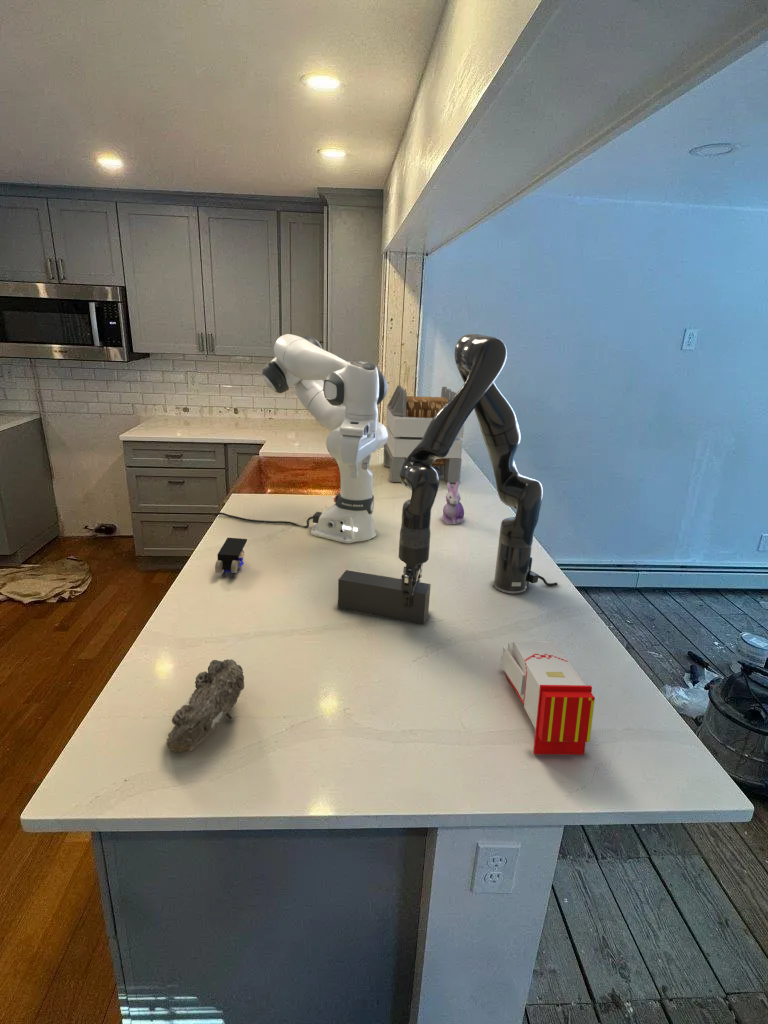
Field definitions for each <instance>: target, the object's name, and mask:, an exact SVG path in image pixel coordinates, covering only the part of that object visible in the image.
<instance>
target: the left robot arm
mask: <svg viewBox="0 0 768 1024" xmlns="http://www.w3.org/2000/svg"><path fill="white" fill-rule="evenodd" d="M273 353H274V357H273V358H272V359H271V360H270V361H268V362H267V363H266V364H265V365H264V367H263V368H262V372H261V374H262V378H263V380H264V383H265V385H266V386H267V387H268V388H269V389H271V390H273V391H274V392H275V393H278V394H283V393H285V392H287V391H290V388H292V387H293V391H294V393H295V395H296V397H297V399H298V400H299V402H300V403H301V404H302V406H303V407H304V408H305V409H306V410H307V412H308V413H310V415H311V416H312V417H313V418H314V419H315V420H316V421H317V422H318V423H319V425H321V427H323V428H324V429H326V430H328V431H330V432H329V433H328V435H327V437H326V440H325V446H326V450H327V453H328V454H329V455H330V456H331V457H332V458H333V459H334V460H335V462H336V464H337V466H338V470H339V476H340V480H339V481H340V484H339V485H340V488H339V489H340V490H339V491H338V492H337V494H336V495H335V496H334V497H333V502H334V504H333V505H331V506H329V507H328V508H326V509H325V510H323V512H322V511H316V512H315V513H314V514H313V515H312V516H309V517H308V518H307V519H306V525H300V524H298V523H296V522H293V521H288V520H287V521H285V520H263V519H261V520H260V519H252V518H245V517H241V516H237V515H232V514H228V513H226V512H217V513H215V514H214V517H217V516H220V515H221V516H225V517H229V518H233V519H237V520H241V521H245V522H250V523H251V522H252V523H262V524H288V525H293V526H295V527H301V528H304V529H307V528H309V527H310V520H312V523H313V524H314V525H313V526H312V528H311V530H310V533H311V536H315V537H319V538H323V539H326V540H330V541H336V542H339V543H343V544H352V543H357V542H365V541H368V540H372V539H373V538H375V537H376V535H377V532H376V528H375V523H374V513H373V512H374V509H375V496H374V473H373V471H372V470H371V469H369V468H370V461H371V457H372V454H374V453H376V452H378V451H379V450H381V449H382V448H384V445H385V444H386V442H387V439H388V433H387V430H386V426H385V425H384V424H383V423H382V422H380V421H379V409H378V405H380V404H381V403H382V401H383V400H384V399H385V398H386V395H387V392H388V382H387V379H386V377H385V376H384V374H383V373H382V371H380V369H378V367H377V365H376V364H375V363H373V362H372V361H370V360H369V361H368V360H364V359H353V360H350V361H349V360H347V359H345V358H343V357H341V356H338V355H336V354H334V353H332V352H329V351H327V350H325V349H323V347H322V345H321V343H320V342H319V341H318V340H317V339H315V338H314V337H313V336H312V335H309V334H308V335H307V334H306V335H304V336H299V335H296V334H291V333H286V334H283V335H280V336H279V337H278V338H277V339H276V341H275V343H274V346H273Z"/></svg>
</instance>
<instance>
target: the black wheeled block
mask: <svg viewBox="0 0 768 1024" xmlns="http://www.w3.org/2000/svg"><path fill="white" fill-rule="evenodd" d="M247 542H248V538H240V537H226V539H225V541H224V543H223V544H222V546H221V547H220V549H219V551H218V552H217V560H216V562H215V564H214V572H215V573H221V577H222V578H224V577H225V576H226V574H227V573H230V574H231V573H232V574H231V578H234V577H235V575H236V573H237V572H239V571H240V567H242V566H243V565H244V564H245V562H244V558H245V551H244V547H245V546H246V544H247Z"/></svg>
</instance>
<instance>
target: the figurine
mask: <svg viewBox="0 0 768 1024" xmlns="http://www.w3.org/2000/svg"><path fill="white" fill-rule="evenodd" d="M446 485H447V486H446V488H447V493H446V495H445V501H446V504H445V505H444V506H443V508H442V517H441V520H442V521H443V522H444V524H447V525H456V524H461V523H462V522H463V521H464V516H465V509H464V506H463V504H462V503H461V502H460V501H461V499H462V497H461V495H460V493H459V487H460V482H456V483H454V485H452V483H449V482H447V483H446Z"/></svg>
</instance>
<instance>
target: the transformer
mask: <svg viewBox="0 0 768 1024" xmlns="http://www.w3.org/2000/svg"><path fill="white" fill-rule="evenodd" d="M440 393H441V394H440V396H415V395H414V396H413V395H412V396H411V395H407V394H408V393H407V390H406V389H404V388H403V387H402V385H399V384H398V385H397V386H396V388H395V390H394V392H393V394H392V395H391V398H390V400H389V402H388V404H387V405H386V413H385V414H386V415H385V423H386V426H385V428H386V430H387V433H388V439H387V442H386V444H385V445H384V446H383V466H384V467H388V468H389V475H388V476H389V477H388V478H389V480H390V482H391V483H401V481H400V470H401V467H402V465H403V463H404V461H405V460H406V458H407V457H408V456H409V455H410V453H411V452H412V451H413V450H414V449H415V447H416V446H417V445H418V444H419V443H420V442H421V440H422V438H423V436H424V434H425V432H426V430H427V428H428V426H429V424H430V423H431V421H432V419H433V417H434V416H435V415H436V413H437V412H438V411H439V410H440V409H441V408H442V407H443V406H444V405H445V404H446V403H447V402H448V401H449V400H450V399H452V398H453V397H454V396H455V395H456V393H457V392H455V391H453V390H452V389H451V388H447V386H442V387H441V392H440ZM464 429H465V423H464V424H463V426H462V428H461V429H460V431H459V433H458V435H457V437H456V439H455V441H454V443H453V445H452V447H451V449H450V451H449V452H448V454H447V456H446V457H445V458H443V459H436V460H435V461H434V462H433V463H432V465H431V467H436V468H437V470H438V469H439V473H440V474H441V475H443V478H444V479H445V481H446V482H447V483H448V482H449V483H450V484H455V483H456V482H459V483H461V472H462V461H463V460H462V453H463V442H464V441H463V440H462V439H463V438H464V431H465V430H464Z"/></svg>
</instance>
